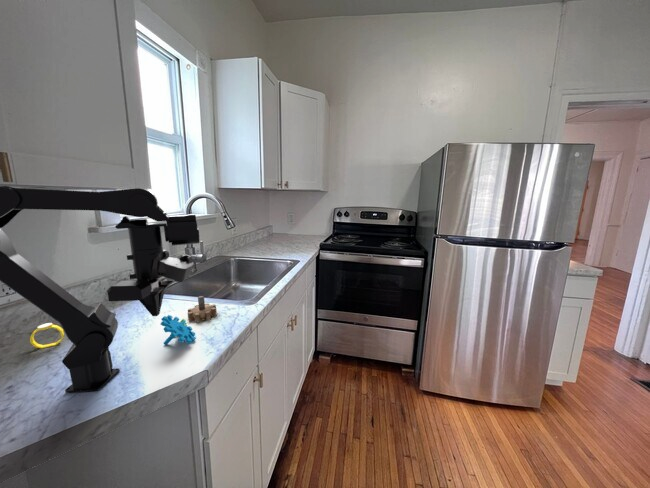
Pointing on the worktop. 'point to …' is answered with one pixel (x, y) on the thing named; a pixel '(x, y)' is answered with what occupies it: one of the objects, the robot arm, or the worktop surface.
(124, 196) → the robot arm
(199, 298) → the gear
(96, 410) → the worktop surface
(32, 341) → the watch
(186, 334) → the gear
